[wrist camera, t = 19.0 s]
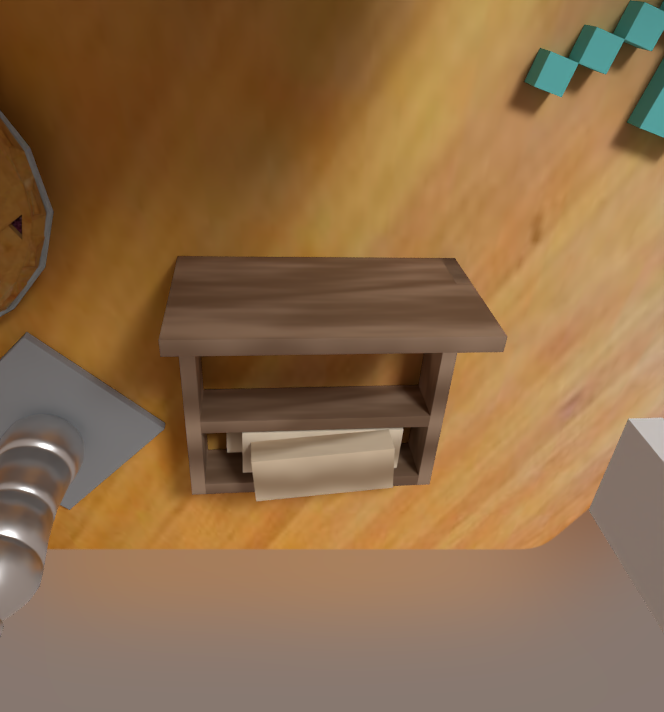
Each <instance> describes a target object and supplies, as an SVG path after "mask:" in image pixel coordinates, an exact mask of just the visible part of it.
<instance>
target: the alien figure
mask: <svg viewBox="0 0 664 712" xmlns="http://www.w3.org/2000/svg"><path fill="white" fill-rule="evenodd" d="M663 30H664V1H663V3H662V4H661V6H660V8H659V9H658V8H656V7H654V6H652V5H650V4H648V3H645V2H640V1H632V0H630V2H629V4H628V6H627V8H626V10H625V12H624V14H623V15H622V17H621V19H620V21H619V23H618V25H617V27H616V29H615V31H614V33H613V34H612V33H609V32H607V31H605V30H603V29H600V28H598V27H594V26H590V25H584V27H583V29H582V31H581V33H580V35H579V37H578V39H577V41H576V43H575V45H574V47H573V49H572V51H571V53H570V55H569V57H568V58H565V57H563V56H561V55H558V54H556V53H553V52H551V51H548V50H545V49H542V48H540V49H539V52H538V54H537V56H536V58H535V60H534V62H533V64H532V66H531V69H530V71H529V73H528V75H527V77H526V79H525V81H524V82H526V83H528V84H530V85H532V86H534V87H537V88H539V89H542V90H545V91H547V92H550V93H552V94H555V95H557V96H560V97H562V95H563V93H564V92H565V90H566V88H567V86H568V84H569V82H570V80H571V78H572V76H573V74H574V72H575V70H576V68H577V66H578V64H580V65H582V66H585V67H587V68H589V69H592V70H594V71H597V72H600V73H603V74H607V72H608V70H609V68H610V66H611V64H612V63H613V61H614V59H615V57H616V55H617V53H618V51H619V49H620V48H621V46H622V44H623V42H626V43H628V44H630V45H633V46H635V47H637V48H641V49H645V50H649V51H652V50H653V48H654V46H655V45H656V43H657V41H658V39H659V37H660V36H661V34H662V32H663ZM627 123H630V124H632V125H634V126H636V127H638V128H641V129H643V130H646V131H648V132H651V133H653V134H656V135H658V136H661V137H664V58H663V60H662V62H661V63H660V65H659V67H658V69H657V70H656V72H655V74H654V76H653V77H652V79H651V81H650V83H649V84H648V86H647V88H646V90H645V91H644V93H643V95H642V97H641V98H640V100H639V102H638V104H637V105H636V107H635V109H634V111H633V112H632V114H631V116H630V118H629V119H628V121H627Z"/></svg>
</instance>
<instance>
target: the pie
mask: <svg viewBox="0 0 664 712" xmlns="http://www.w3.org/2000/svg"><path fill="white" fill-rule="evenodd" d="M52 218H53V209H52V207H51V204H50V201H49V198H48V196H47V193H46V190H45V187H44V185H43V182H42V179H41V176H40V174H39V171H38V168H37V165H36V162H35V160H34V157H33V154H32V151H31V149H30V147H29V146H28V144H27V143H26V142H25V141H24V139H23V138H22V137H21V136H20V134H19V133H18V132H17V131H16V129H15V128H14V127H13V126H12V124H11V123H10V122H9V121H8V119H7V118H6V117H5V116H4V114H3V113H2V112H1V111H0V317H1V316H2V315H4V314H6V313H8V312H10V311H11V310H13V309H15V307H16V306H17V305H18V303H19V302H20V300H21V299H22V298H23V296H24V295H25V294H26V292H27V291H28V290H29V288H30V287H31V286H32V284H33V283H34V282H35V280H36V279H37V278H38V276H39V275H40V273H41V272H42V271H43V269H44V268H45V266H46V259H47V252H48V246H49V239H50V232H51V225H52Z"/></svg>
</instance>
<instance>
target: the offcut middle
mask: <svg viewBox="0 0 664 712" xmlns="http://www.w3.org/2000/svg"><path fill="white" fill-rule="evenodd" d="M386 429H389V431H390V434H391V438H392V441H393V444H394V448H395V454H394V468H397V463H398V457H399V452H400V446H401V440H402V435H403V427H397V428H364V429H331V430H298V431H265V432H242V453H243V473H247V472H252V464H251V442H256V441H267V440H278V439H289V438H300V437H310V436H321V435H332V434H343V433H354V432H365V431H375V430H386Z"/></svg>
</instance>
